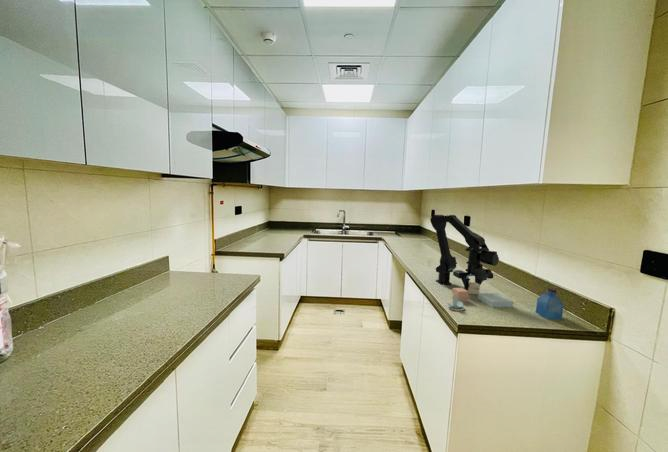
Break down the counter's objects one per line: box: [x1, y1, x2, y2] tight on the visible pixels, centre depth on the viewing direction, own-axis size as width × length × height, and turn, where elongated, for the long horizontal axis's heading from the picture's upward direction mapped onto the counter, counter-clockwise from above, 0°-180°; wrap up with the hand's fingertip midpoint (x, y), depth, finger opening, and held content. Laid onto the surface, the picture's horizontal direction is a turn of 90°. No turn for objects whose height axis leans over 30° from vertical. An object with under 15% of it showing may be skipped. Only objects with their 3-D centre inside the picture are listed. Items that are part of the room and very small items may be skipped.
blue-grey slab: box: [477, 292, 514, 308], centre depth 125 cm, size 10×10×3 cm
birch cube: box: [463, 280, 481, 295], centre depth 137 cm, size 5×5×5 cm
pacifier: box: [446, 294, 465, 312], centre depth 116 cm, size 7×6×6 cm
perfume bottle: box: [535, 286, 565, 321], centre depth 112 cm, size 6×6×12 cm
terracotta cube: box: [451, 287, 469, 303], centre depth 127 cm, size 5×5×5 cm
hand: (471, 290), depth 137 cm, fingers closed on birch cube, 5 cm apart
